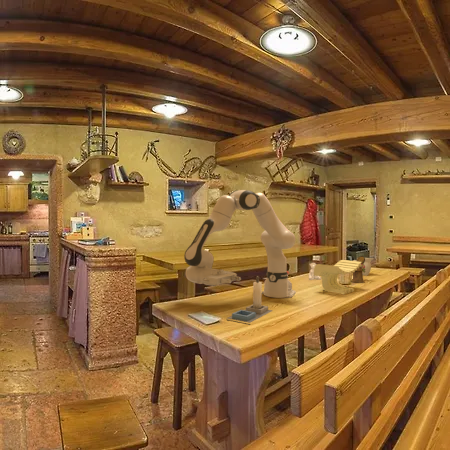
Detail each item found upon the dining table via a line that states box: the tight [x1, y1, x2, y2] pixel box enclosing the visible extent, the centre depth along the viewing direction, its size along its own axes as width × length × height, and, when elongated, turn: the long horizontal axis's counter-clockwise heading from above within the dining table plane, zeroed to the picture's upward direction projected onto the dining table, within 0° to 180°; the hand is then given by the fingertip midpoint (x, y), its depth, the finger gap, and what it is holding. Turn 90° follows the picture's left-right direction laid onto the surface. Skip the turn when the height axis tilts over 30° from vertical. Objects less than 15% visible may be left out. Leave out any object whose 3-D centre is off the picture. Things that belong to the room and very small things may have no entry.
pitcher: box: [352, 257, 375, 277], centre depth 295 cm, size 11×18×14 cm, turn 46°
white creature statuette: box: [308, 262, 322, 281], centre depth 274 cm, size 10×9×12 cm
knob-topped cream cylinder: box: [252, 275, 263, 309], centre depth 180 cm, size 4×4×17 cm
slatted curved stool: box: [314, 259, 361, 295], centre depth 234 cm, size 30×16×18 cm, turn 134°
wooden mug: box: [351, 255, 366, 284], centre depth 266 cm, size 9×14×18 cm, turn 139°
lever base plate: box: [225, 304, 274, 326], centre depth 175 cm, size 24×12×3 cm, turn 148°
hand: (235, 280), depth 186 cm, fingers open, 8 cm apart
